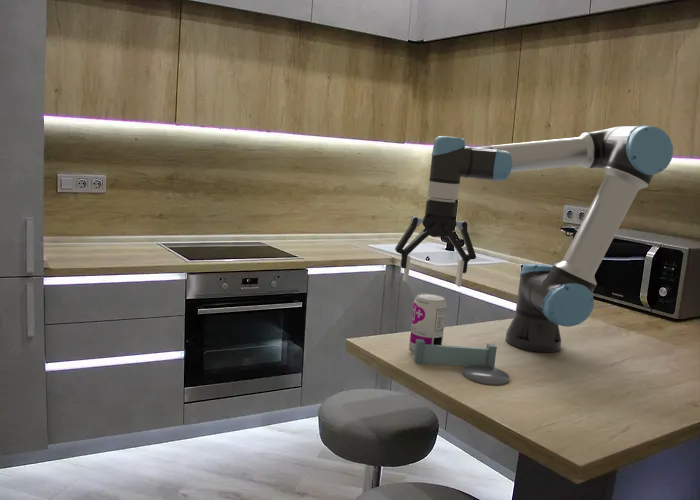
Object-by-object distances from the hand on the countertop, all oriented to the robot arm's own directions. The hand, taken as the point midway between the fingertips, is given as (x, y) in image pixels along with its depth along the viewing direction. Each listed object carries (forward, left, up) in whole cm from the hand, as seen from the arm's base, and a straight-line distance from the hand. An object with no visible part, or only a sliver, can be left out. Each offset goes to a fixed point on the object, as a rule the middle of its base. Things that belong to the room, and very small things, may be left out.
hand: (431, 283), depth 162 cm
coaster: (-12, +14, -19) cm, 26 cm away
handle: (-6, +7, -19) cm, 21 cm away
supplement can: (0, 0, -19) cm, 19 cm away
